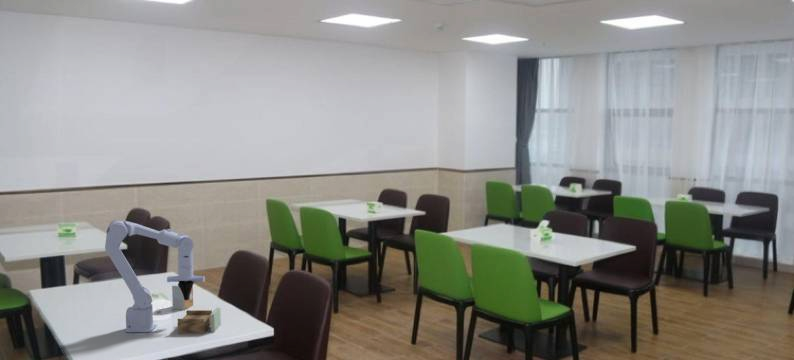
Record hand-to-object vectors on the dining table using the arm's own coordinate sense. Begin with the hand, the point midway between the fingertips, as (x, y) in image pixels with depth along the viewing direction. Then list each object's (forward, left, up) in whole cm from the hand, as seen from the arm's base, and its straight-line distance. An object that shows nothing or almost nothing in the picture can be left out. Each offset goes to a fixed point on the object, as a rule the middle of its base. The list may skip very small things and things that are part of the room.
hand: (186, 299), depth 264 cm
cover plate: (+12, -6, -6) cm, 15 cm away
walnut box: (+5, -6, -10) cm, 13 cm away
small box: (-9, +23, -10) cm, 27 cm away
